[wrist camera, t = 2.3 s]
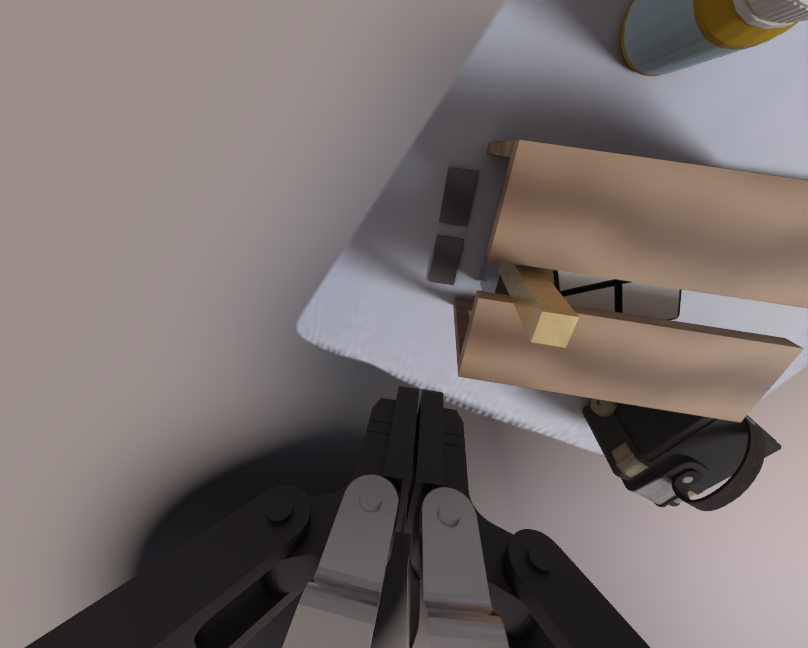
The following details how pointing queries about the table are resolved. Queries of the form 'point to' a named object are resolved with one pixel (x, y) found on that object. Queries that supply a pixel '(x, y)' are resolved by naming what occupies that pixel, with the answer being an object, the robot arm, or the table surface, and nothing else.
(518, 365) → the wooden plank structure
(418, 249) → the table surface
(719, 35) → the bottle
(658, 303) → the puzzle cube
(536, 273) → the wooden square rod
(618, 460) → the camera
